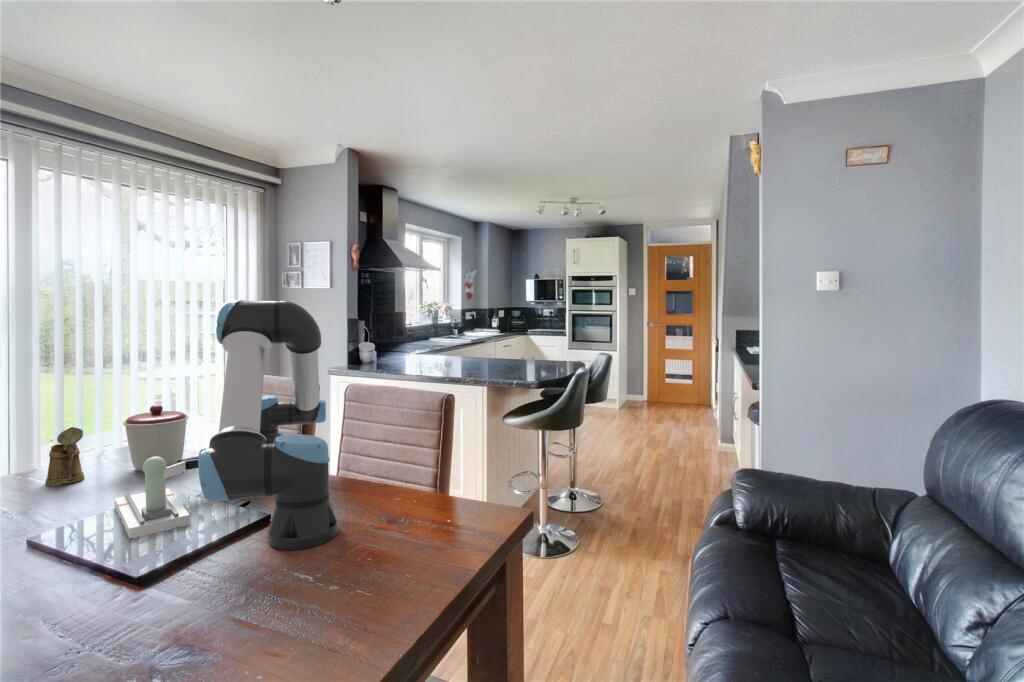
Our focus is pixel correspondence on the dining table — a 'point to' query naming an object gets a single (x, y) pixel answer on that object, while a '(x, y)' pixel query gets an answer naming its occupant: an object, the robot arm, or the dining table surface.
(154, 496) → the fader knob
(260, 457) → the robot arm
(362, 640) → the dining table surface
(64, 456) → the wooden mug
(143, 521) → the fader console
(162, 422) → the canister
